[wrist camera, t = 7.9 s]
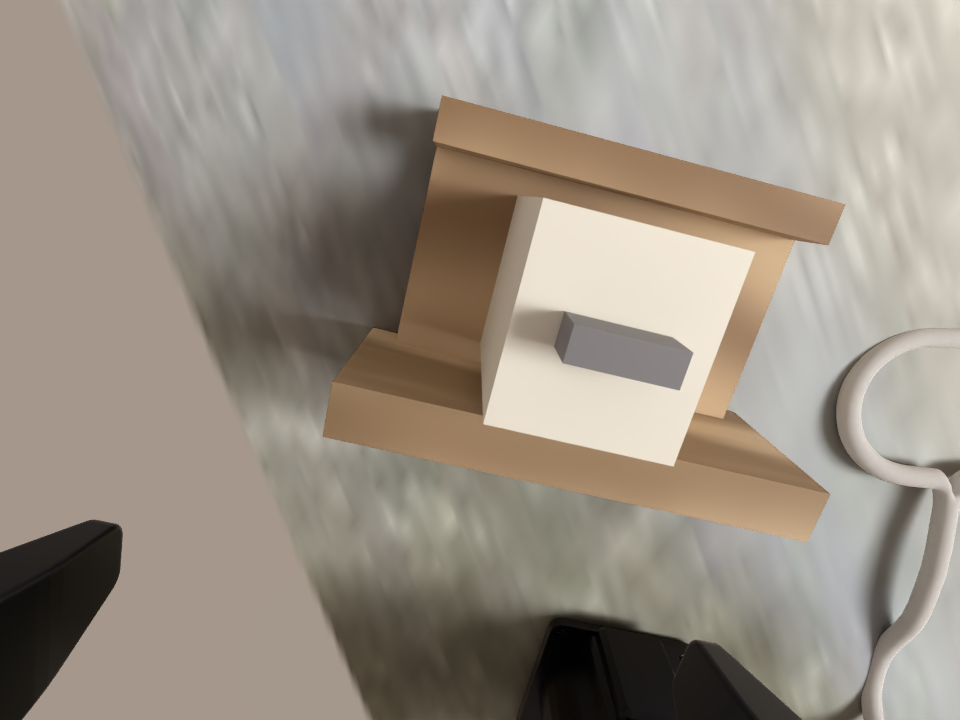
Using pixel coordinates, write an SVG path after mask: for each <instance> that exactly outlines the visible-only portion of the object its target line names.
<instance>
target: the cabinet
mask: <svg viewBox="0 0 960 720" xmlns="http://www.w3.org/2000/svg"><path fill="white" fill-rule="evenodd" d="M754 254H755V252H753V251H749V250H745V249H741V248H738V247H734V246H730V245H726V244H722V243H718V242H714V241H710V240H706V239H703V238H699V237H695V236H691V235H687V234H683V233H679V232H675V231H671V230H668V229H664V228H660V227H656V226H652V225H648V224H644V223H640V222H636V221H633V220H629V219H625V218H621V217H617V216H613V215H609V214H605V213H601V212H598V211H594V210H590V209H586V208H582V207H578V206H574V205H570V204H566V203H562V202H559V201H555V200H551V199H547V198H542V197H530V196H517V200H516V204H515V208H514V212H513V216H512V220H511V224H510V228H509V232H508V236H507V239H506V243H505V247H504V251H503V255H502V259H501V263H500V267H499V271H498V275H497V279H496V283H495V287H494V291H493V295H492V299H491V303H490V307H489V311H488V315H487V318H486V322H485V326H484V330H483V334H482V338H481V342H480V347H481V376H482V405H483V424H485V425H489V426H494V427H498V428H503V429H507V430H512V431H516V432H521V433H525V434H530V435H534V436H539V437H543V438H547V439H552V440H556V441H561V442H565V443H570V444H574V445H579V446H583V447H588V448H592V449H597V450H601V451H606V452H610V453H615V454H619V455H624V456H628V457H633V458H637V459H642V460H646V461H651V462H655V463H660V464H664V465H669V466H673V467H674V464H675V461H676V459H677V456H678V453H679V451H680V448H681V446H682V443H683V440H684V438H685V435H686V433H687V430H688V427H689V425H690V422H691V419H692V417H693V414H694V412H695V409H696V406H697V404H698V401H699V398H700V396H701V393H702V391H703V388H704V385H705V383H706V380H707V378H708V375H709V372H710V370H711V367H712V364H713V362H714V359H715V357H716V354H717V351H718V349H719V346H720V343H721V341H722V338H723V336H724V333H725V330H726V328H727V325H728V323H729V320H730V317H731V315H732V312H733V309H734V307H735V304H736V302H737V299H738V296H739V294H740V291H741V288H742V286H743V283H744V281H745V278H746V275H747V273H748V270H749V268H750V265H751V262H752V260H753V257H754Z"/></svg>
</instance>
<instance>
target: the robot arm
mask: <svg viewBox="0 0 960 720" xmlns="http://www.w3.org/2000/svg"><path fill="white" fill-rule="evenodd" d="M122 537H123V533H122V528H121V527H120V526H119V525H117V524H114V523H109V522H104V521H99V520H89V521H86V522H83V523H80V524H77V525H75V526H72V527H69V528H66V529H63V530H61V531H58V532H55V533H52V534H50V535H47V536H44V537H41V538H39V539H36V540H33V541H30V542H28V543H25V544H22V545H19V546H17V547H14V548H11V549H8V550H6V551H3V552H0V720H22V719H23V718H24V717H25V715H26V714H27V713H28V711H29V710H30V709H31V708H32V707H33V705H34V704H35V703H36V701H37V700H38V699H39V698H40V696H41V695H42V694H43V692H44V691H45V690H46V688H47V687H48V686H49V684H50V683H51V681H52V680H53V678H54V677H55V676H56V674H57V673H58V671H59V669H60V668H61V667H62V665H63V664H64V662H65V661H66V659H67V658H68V656H69V655H70V653H71V652H72V650H73V648H74V647H75V645H76V644H77V642H78V641H79V639H80V638H81V636H82V635H83V633H84V632H85V630H86V628H87V627H88V626H89V624H90V623H91V621H92V620H93V618H94V616H95V615H96V614H97V612H98V610H99V609H100V607H101V606H102V604H103V603H104V601H105V600H106V598H107V597H108V595H109V594H110V592H111V590H112V589H113V588H114V586H115V584H116V582H117V579H118V577H119V573H120V565H121V551H122ZM559 630H564V631H563V632H561V633H558V632H557V631H559ZM683 654H684V655H683ZM681 655H683V656H681ZM516 720H802V719H801V718H800V717H799V716H797V715H796V714H795V713H794V712H793V711H792V710H791V709H790V708H789V707H787V706H786V705H785V704H784V703H783V702H782V701H781V700H780V699H779V698H777V697H776V696H775V695H774V694H773V693H772V692H771V691H770V690H769V689H768V688H766V687H765V686H764V685H763V684H762V683H761V682H760V681H759V680H758V679H756V678H755V677H754V676H753V675H752V674H751V673H750V672H749V671H748V670H746V669H745V668H744V667H743V666H742V665H741V664H740V663H739V662H738V661H736V660H735V659H734V658H733V657H732V656H731V655H730V654H729V653H728V652H727V651H725V650H724V649H723V648H722V647H721V646H720V645H718V644H715V643H711V642H706V641H701V640H693V641H691V642H690V643H689V644H687V643H684V642H679V641H674V640H669V639H664V638H659V637H654V636H649V635H644V634H639V633H634V632H629V631H624V630H619V629H614V628H609V627H604V626H599V625H594V624H589V623H584V622H579V621H574V620H569V619H564V618H558V619H555V620H553V621H552V622H551V623H550V624H549V626H548V629H547V632H546V635H545V638H544V641H543V644H542V647H541V649H540V652H539V655H538V658H537V661H536V664H535V667H534V670H533V673H532V676H531V679H530V681H529V684H528V687H527V690H526V693H525V696H524V699H523V702H522V705H521V708H520V710H519V713H518V716H517V719H516Z"/></svg>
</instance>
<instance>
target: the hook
mask: <svg viewBox="0 0 960 720" xmlns="http://www.w3.org/2000/svg"><path fill="white" fill-rule="evenodd" d="M918 348H960V329H948V328H927V329H917V330H912V331H907V332H903V333H901V334H898V335H895V336H893V337H890V338H888V339H887V340H885V341H883V342H881V343H879V344H878V345H876V346H875V347H873V348H872V349H871V350H869V351H868V352H867V353H865V354H864V355H863V356H862V357H861V358H860V359H859V360H858V361H857V362H856V363H855V364H854V366H853V367H852V369H851V370H850V371H849V373H848V374H847V376H846V377H845V379H844V381H843V383H842V386H841V388H840V391H839V395H838V400H837V405H836V421H837V428H838V433H839V435H840V438H841V441H842V444H843V446H844V447H845V449H846V451H847V452H848V454H849V455H850V457H851V458H852V459H853V460H854V461H855V462H856V463H857V464H858V465H859V466H860V467H861V468H863V469H864V470H865V471H866V472H868V473H869V474H871V475H873V476H875V477H877V478H879V479H881V480H883V481H887V482H890V483H894V484H899V485H904V486H910V487H920V488H931V489H932V492H933V507H932V513H931V518H930V524H929V530H928V535H927V541H926V546H925V551H924V555H923V560H922V565H921V568H920V571H919V573H918V576H917V579H916V582H915V585H914V588H913V590H912V593H911V596H910V598H909V601H908V603H907V605H906V607H905V609H904V611H903V613H902V615H901V616H900V617H899V618H898V619H897V620H896V621H895V622H894V623H893V624H892V625H891V626H890V627H889V628H888V629H887V630H886V631H884V632H883V633H882V635H881V636H880V638H879V640H878V642H877V645H876V648H875V650H874V655H873V658H872V662H871V666H870V670H869V673H868V677H867V680H866V683H865V686H864V689H863V692H862V697H861V705H862V713H863V719H864V720H884V717H883V709H882V689H883V682H884V679H885V675H886V672H887V669H888V667H889V665H890V663H891V660H892V659H893V657H894V656H895V655H896V654H897V653H898V651H899V650H900V649H902V648H903V647H904V646H905V645H906V644H907V643H909V642H910V641H911V640H912V639H913V638H914V637H916V636H917V635H918V634H919V632H920V631H921V630H922V629H923V628H924V626H925V625H926V623H927V621H928V619H929V618H930V616H931V614H932V612H933V609H934V607H935V604H936V602H937V600H938V597H939V594H940V592H941V589H942V586H943V583H944V581H945V578H946V575H947V571H948V567H949V562H950V558H951V554H952V549H953V543H954V538H955V533H956V527H957V522H958V516H959V511H960V470H959V471H957V472H956V473H955V474H954V475H953V476H952V477H951V478H950V479H949V480H948V478H947V477H946V475H945V474H944V473H943V472H942V471H941V470H939V469H934V468H928V467H918V466H908V465H903V464H898V463H895V462H892V461H889V460H887V459H885V458H883V457H882V456H880V455H879V454H878V453H877V452H876V451H875V450H874V449H873V448H872V447H871V445H870V444H869V442H868V440H867V439H866V437H865V434H864V431H863V428H862V422H861V407H862V402H863V398H864V395H865V392H866V390H867V387H868V385H869V384H870V382H871V380H872V379H873V377H874V376H875V374H876V373H877V372H878V371H879V370H880V368H881V367H883V366H884V365H885V364H886V363H887V362H888V361H890V360H891V359H893V358H894V357H896V356H898V355H900V354H902V353H904V352H907V351H909V350H914V349H918Z"/></svg>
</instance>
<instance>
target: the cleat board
mask: <svg viewBox="0 0 960 720" xmlns="http://www.w3.org/2000/svg"><path fill="white" fill-rule="evenodd" d="M433 142H434V143H435V144H436V146H437V148H436V153H435V157H434V162H433V167H432V172H431V176H430V181H429V186H428V191H427V195H426V200H425V205H424V210H423V215H422V219H421V224H420V229H419V234H418V238H417V243H416V248H415V253H414V257H413V262H412V267H411V272H410V276H409V281H408V286H407V291H406V295H405V300H404V305H403V310H402V315H401V319H400V324H399V329H398V333H394V332H390V331H386V330H381V329H377V328H372V330H371V331H370V332H369V334H368V335H367V336H366V338H365V339H364V340H363V342H362V343H361V344H360V346H359V347H358V348H357V350H356V351H355V352H354V354H353V355H352V356H351V358H350V359H349V360H348V362H347V363H346V364H345V366H344V367H343V368H342V370H341V371H340V372H339V373H338V375H337V376H336V377H335V379H334V380H333V381H332V387H331V392H330V398H329V403H328V409H327V414H326V420H325V425H324V431H323V437H327V438H331V439H336V440H340V441H345V442H349V443H354V444H359V445H363V446H368V447H372V448H377V449H382V450H386V451H391V452H395V453H400V454H405V455H409V456H414V457H418V458H423V459H427V460H432V461H437V462H441V463H446V464H450V465H455V466H460V467H464V468H469V469H473V470H478V471H483V472H487V473H492V474H496V475H501V476H505V477H510V478H515V479H519V480H524V481H528V482H533V483H538V484H542V485H547V486H551V487H556V488H561V489H565V490H570V491H574V492H579V493H583V494H588V495H593V496H597V497H602V498H606V499H611V500H616V501H620V502H625V503H629V504H634V505H639V506H643V507H648V508H652V509H657V510H661V511H666V512H671V513H675V514H680V515H684V516H689V517H694V518H698V519H703V520H707V521H712V522H717V523H721V524H726V525H730V526H735V527H739V528H744V529H749V530H753V531H758V532H762V533H767V534H772V535H776V536H781V537H785V538H790V539H795V540H799V541H804V542H807V541H808V539H809V537H810V535H811V533H812V531H813V529H814V527H815V525H816V523H817V521H818V519H819V517H820V514H821V512H822V510H823V508H824V506H825V504H826V502H827V500H828V498H829V496H830V493H828V492H827V491H826V490H825V489H824V488H823V487H821V486H820V485H819V484H818V483H817V482H815V481H814V480H813V479H812V478H811V477H810V476H808V475H807V474H806V473H805V472H804V471H803V470H801V469H800V468H799V467H798V466H797V465H796V464H794V463H793V462H792V461H791V460H790V459H788V458H787V457H786V456H785V455H784V454H783V453H781V452H780V451H779V450H778V449H777V448H776V447H774V446H773V445H772V444H771V443H770V442H768V441H767V440H766V439H765V438H764V437H763V436H761V435H760V434H759V433H758V432H757V431H756V430H754V429H753V428H752V427H751V426H750V425H749V424H747V423H746V422H745V421H744V420H743V419H741V418H740V417H739V416H738V415H737V414H736V413H734V412H730V411H727V408H728V406H729V403H730V401H731V398H732V396H733V393H734V391H735V388H736V386H737V383H738V381H739V378H740V376H741V373H742V371H743V368H744V366H745V363H746V361H747V358H748V356H749V353H750V351H751V348H752V346H753V343H754V341H755V338H756V336H757V333H758V331H759V328H760V326H761V323H762V321H763V318H764V316H765V314H766V311H767V309H768V306H769V304H770V301H771V299H772V296H773V294H774V291H775V289H776V286H777V284H778V281H779V279H780V276H781V274H782V271H783V269H784V266H785V264H786V261H787V259H788V256H789V254H790V251H791V249H792V246H793V244H794V241H795V240H797V241H804V242H810V243H817V244H824V245H829V243H830V240H831V238H832V235H833V233H834V231H835V228H836V226H837V224H838V221H839V219H840V216H841V214H842V212H843V209H844V207H845V204H842V203H838V202H835V201H831V200H827V199H824V198H820V197H816V196H813V195H809V194H805V193H801V192H798V191H794V190H790V189H787V188H783V187H779V186H776V185H772V184H768V183H764V182H761V181H757V180H753V179H750V178H746V177H742V176H739V175H735V174H731V173H727V172H724V171H720V170H716V169H713V168H709V167H705V166H701V165H698V164H694V163H690V162H687V161H683V160H679V159H676V158H672V157H668V156H664V155H661V154H657V153H653V152H650V151H646V150H642V149H639V148H635V147H631V146H627V145H624V144H620V143H616V142H613V141H609V140H605V139H602V138H598V137H594V136H590V135H587V134H583V133H579V132H576V131H572V130H568V129H564V128H561V127H557V126H553V125H550V124H546V123H542V122H539V121H535V120H531V119H527V118H524V117H520V116H516V115H513V114H509V113H505V112H502V111H498V110H494V109H490V108H487V107H483V106H479V105H476V104H472V103H468V102H465V101H461V100H457V99H453V98H450V97H446V96H442V98H441V103H440V108H439V113H438V118H437V122H436V127H435V132H434V137H433ZM517 196H530V197H542V198H547V199H551V200H555V201H559V202H562V203H566V204H570V205H574V206H578V207H582V208H586V209H590V210H594V211H598V212H601V213H605V214H609V215H613V216H617V217H621V218H625V219H629V220H633V221H636V222H640V223H644V224H648V225H652V226H656V227H660V228H664V229H668V230H671V231H675V232H679V233H683V234H687V235H691V236H695V237H699V238H703V239H706V240H710V241H714V242H718V243H722V244H726V245H730V246H734V247H738V248H741V249H745V250H749V251H753V252H755V254H754V257H753V260H752V262H751V265H750V268H749V270H748V273H747V275H746V278H745V281H744V283H743V286H742V288H741V291H740V294H739V296H738V299H737V302H736V304H735V307H734V309H733V312H732V315H731V317H730V320H729V323H728V325H727V328H726V330H725V333H724V336H723V338H722V341H721V343H720V346H719V349H718V351H717V354H716V357H715V359H714V362H713V364H712V367H711V370H710V372H709V375H708V378H707V380H706V383H705V385H704V388H703V391H702V393H701V396H700V398H699V401H698V404H697V406H696V409H695V412H694V414H693V417H692V419H691V422H690V425H689V427H688V430H687V433H686V435H685V438H684V440H683V443H682V446H681V448H680V451H679V453H678V456H677V459H676V461H675V464H674V467H673V466H669V465H664V464H660V463H655V462H651V461H646V460H642V459H637V458H633V457H628V456H624V455H619V454H615V453H610V452H606V451H601V450H597V449H592V448H588V447H583V446H579V445H574V444H570V443H565V442H561V441H556V440H552V439H547V438H543V437H539V436H534V435H530V434H525V433H521V432H516V431H512V430H507V429H503V428H498V427H494V426H489V425H485V424H483V405H482V376H481V347H480V342H481V338H482V334H483V330H484V326H485V322H486V318H487V315H488V311H489V307H490V303H491V299H492V295H493V291H494V287H495V283H496V279H497V275H498V271H499V267H500V263H501V259H502V255H503V251H504V247H505V243H506V239H507V236H508V232H509V228H510V224H511V220H512V216H513V212H514V208H515V204H516V200H517Z"/></svg>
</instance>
